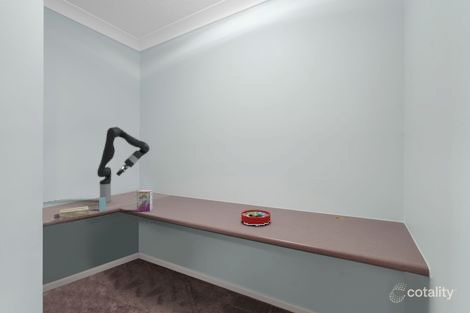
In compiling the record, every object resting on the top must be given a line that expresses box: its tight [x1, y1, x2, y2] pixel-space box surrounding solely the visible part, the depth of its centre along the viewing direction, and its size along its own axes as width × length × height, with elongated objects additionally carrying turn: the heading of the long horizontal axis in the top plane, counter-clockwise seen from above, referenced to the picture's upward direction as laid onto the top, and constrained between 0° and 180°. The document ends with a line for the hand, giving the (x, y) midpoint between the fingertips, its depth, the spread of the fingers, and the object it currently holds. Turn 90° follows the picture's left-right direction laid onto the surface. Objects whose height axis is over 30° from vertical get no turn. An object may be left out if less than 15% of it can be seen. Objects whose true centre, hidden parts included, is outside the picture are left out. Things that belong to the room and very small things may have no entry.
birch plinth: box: [59, 205, 90, 219], centre depth 177 cm, size 14×18×4 cm
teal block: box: [98, 197, 107, 212], centre depth 191 cm, size 4×4×10 cm
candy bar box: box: [136, 189, 153, 212], centre depth 188 cm, size 11×5×16 cm, turn 84°
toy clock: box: [240, 209, 271, 224], centre depth 159 cm, size 20×6×20 cm
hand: (117, 175), depth 197 cm, fingers open, 8 cm apart
